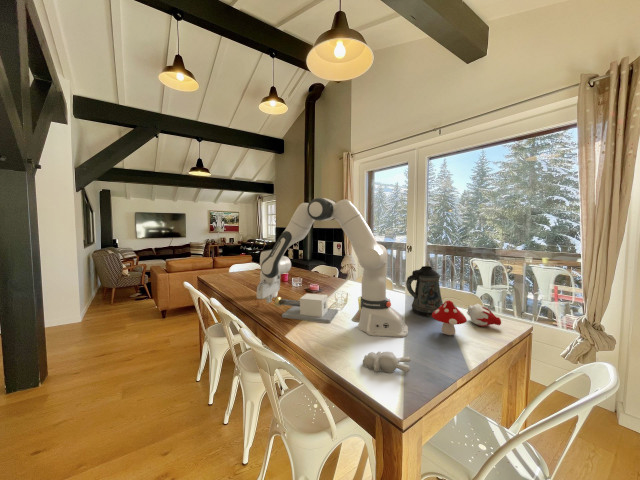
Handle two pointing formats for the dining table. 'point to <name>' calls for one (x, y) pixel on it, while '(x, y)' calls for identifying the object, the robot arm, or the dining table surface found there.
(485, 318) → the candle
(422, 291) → the beer stein
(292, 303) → the shaft
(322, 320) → the bearing block
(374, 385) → the dining table surface
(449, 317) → the decorative mushroom
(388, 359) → the bunny figurine
